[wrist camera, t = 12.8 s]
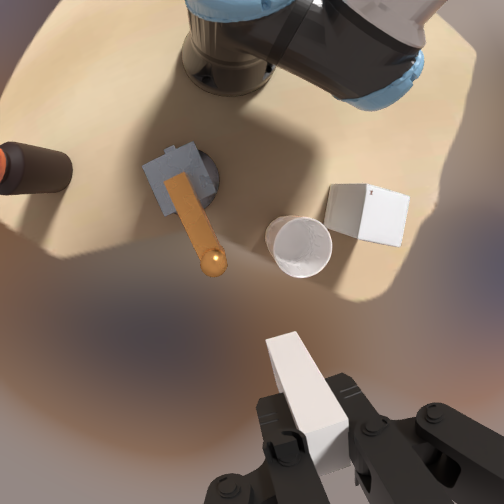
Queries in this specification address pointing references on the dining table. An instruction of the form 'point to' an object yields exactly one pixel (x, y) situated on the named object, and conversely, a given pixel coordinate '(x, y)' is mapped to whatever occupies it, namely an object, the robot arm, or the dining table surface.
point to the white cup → (299, 245)
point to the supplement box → (367, 213)
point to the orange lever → (187, 200)
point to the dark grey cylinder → (213, 176)
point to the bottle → (32, 169)
